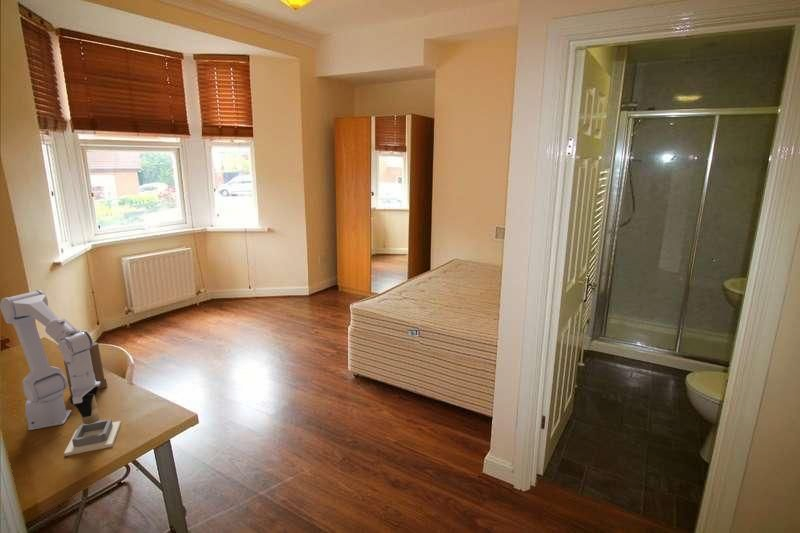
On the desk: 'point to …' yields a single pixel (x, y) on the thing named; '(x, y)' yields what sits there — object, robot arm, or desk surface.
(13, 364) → the desk surface
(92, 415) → the rail end peg
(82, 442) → the cup bracket
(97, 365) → the wooden block
